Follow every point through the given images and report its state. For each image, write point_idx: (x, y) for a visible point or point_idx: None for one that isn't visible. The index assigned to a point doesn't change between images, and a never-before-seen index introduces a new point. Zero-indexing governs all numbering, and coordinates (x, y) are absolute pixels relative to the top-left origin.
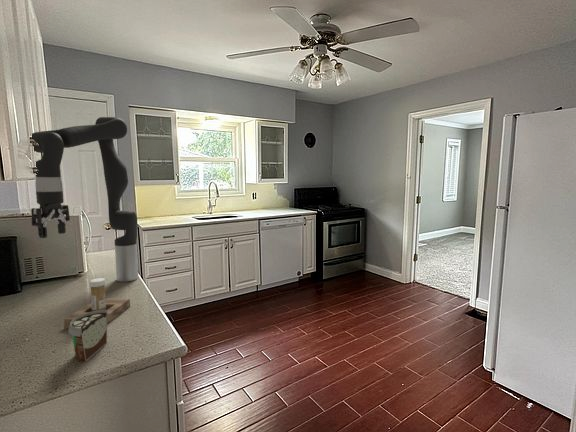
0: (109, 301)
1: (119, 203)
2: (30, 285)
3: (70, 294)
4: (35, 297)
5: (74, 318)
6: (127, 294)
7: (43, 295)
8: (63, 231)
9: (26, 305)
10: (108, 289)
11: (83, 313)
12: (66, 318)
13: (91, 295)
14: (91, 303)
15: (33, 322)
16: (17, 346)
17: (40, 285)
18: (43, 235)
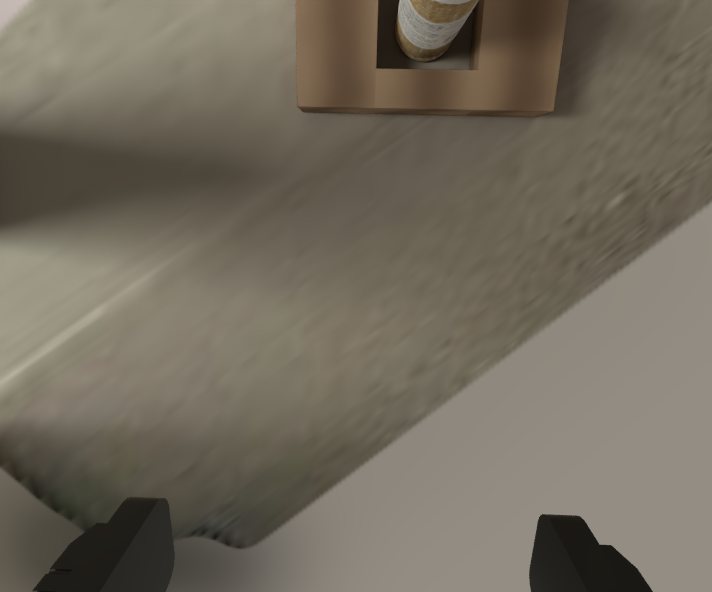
0: (340, 11)
1: None
2: None
3: (194, 333)
4: (245, 444)
5: (548, 65)
6: (147, 44)
7: (221, 431)
8: (147, 525)
9: (324, 419)
10: (102, 195)
11: (494, 57)
12: (545, 106)
13: (475, 4)
14: (457, 30)
15: (477, 281)
16: (671, 192)
17: None
18: (615, 559)
